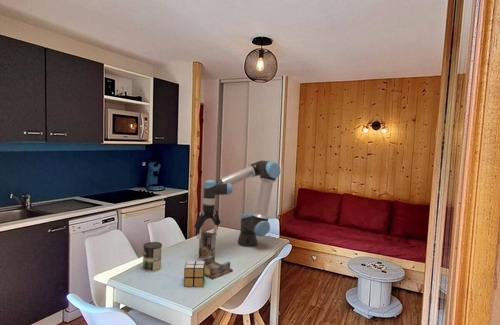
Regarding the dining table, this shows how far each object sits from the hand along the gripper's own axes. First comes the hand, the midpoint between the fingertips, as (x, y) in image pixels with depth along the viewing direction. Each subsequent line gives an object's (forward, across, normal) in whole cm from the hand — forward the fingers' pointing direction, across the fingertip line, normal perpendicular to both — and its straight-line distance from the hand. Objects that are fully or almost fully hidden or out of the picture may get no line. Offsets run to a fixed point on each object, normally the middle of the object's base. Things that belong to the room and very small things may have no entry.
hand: (207, 236), depth 190 cm
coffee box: (+14, 0, 0) cm, 15 cm away
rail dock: (+14, +10, +17) cm, 24 cm away
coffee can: (+15, +34, -9) cm, 38 cm away
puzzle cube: (+15, +26, +22) cm, 38 cm away
